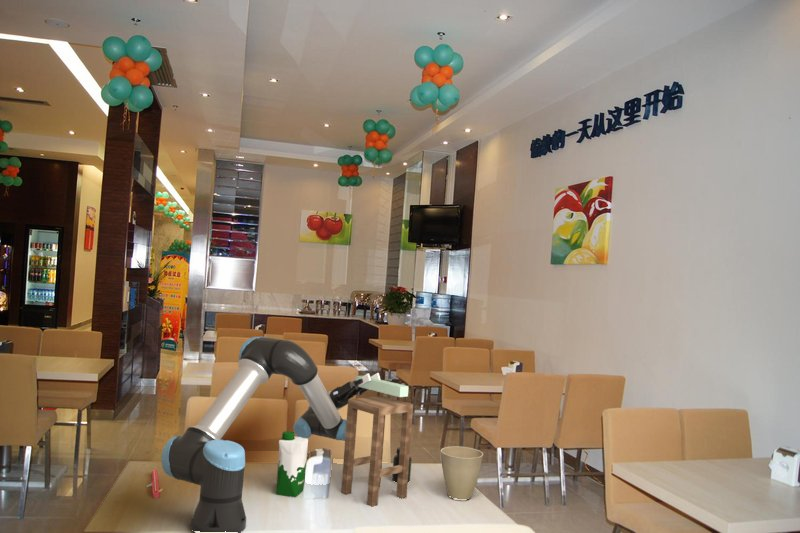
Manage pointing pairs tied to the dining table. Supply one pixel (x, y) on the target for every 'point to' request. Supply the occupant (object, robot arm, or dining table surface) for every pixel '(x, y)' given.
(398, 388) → the green block
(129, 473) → the dining table surface
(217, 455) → the robot arm
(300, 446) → the milk carton
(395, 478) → the supplement bottle
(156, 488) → the red long bar
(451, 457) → the plant pot
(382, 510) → the dining table surface
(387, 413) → the walnut stool
